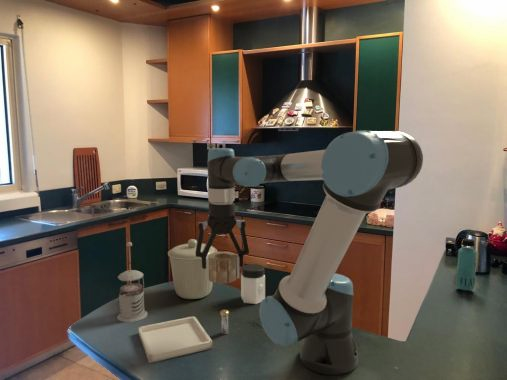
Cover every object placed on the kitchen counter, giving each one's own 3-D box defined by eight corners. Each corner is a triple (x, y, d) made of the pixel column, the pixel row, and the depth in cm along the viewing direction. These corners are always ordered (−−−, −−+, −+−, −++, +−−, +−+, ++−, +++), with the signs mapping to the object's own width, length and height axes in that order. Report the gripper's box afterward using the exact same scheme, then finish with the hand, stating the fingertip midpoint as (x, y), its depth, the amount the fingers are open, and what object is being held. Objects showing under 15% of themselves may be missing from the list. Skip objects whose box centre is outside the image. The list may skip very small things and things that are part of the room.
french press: (110, 320, 131) (106, 245, 128) (129, 305, 142) (126, 236, 139) (138, 323, 129) (134, 247, 125) (155, 308, 140) (152, 237, 136)
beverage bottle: (456, 293, 152) (460, 241, 149) (453, 286, 158) (457, 236, 155) (476, 295, 150) (480, 242, 147) (472, 288, 156) (476, 237, 153)
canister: (160, 293, 153) (158, 238, 150) (201, 281, 165) (200, 231, 162) (185, 308, 140) (183, 249, 137) (227, 295, 151) (226, 239, 148)
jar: (251, 306, 141) (251, 273, 139) (236, 299, 147) (236, 267, 145) (269, 299, 147) (269, 267, 145) (254, 292, 153) (254, 262, 151)
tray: (212, 348, 114) (212, 341, 113) (149, 363, 106) (148, 356, 106) (194, 321, 130) (194, 316, 129) (138, 333, 122) (138, 327, 122)
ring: (235, 273, 124) (235, 251, 123) (236, 284, 115) (236, 260, 114) (209, 274, 124) (209, 252, 123) (208, 285, 115) (208, 261, 114)
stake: (230, 333, 122) (230, 312, 121) (222, 335, 121) (222, 314, 120) (227, 330, 124) (227, 309, 123) (219, 331, 123) (219, 310, 122)
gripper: (255, 198, 122) (255, 271, 125) (184, 201, 119) (186, 275, 122) (259, 203, 115) (259, 280, 118) (184, 205, 111) (186, 284, 115)
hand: (222, 277), depth 120 cm, fingers closed on ring, 8 cm apart
